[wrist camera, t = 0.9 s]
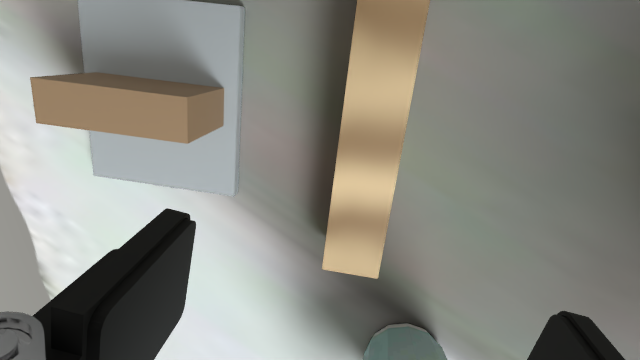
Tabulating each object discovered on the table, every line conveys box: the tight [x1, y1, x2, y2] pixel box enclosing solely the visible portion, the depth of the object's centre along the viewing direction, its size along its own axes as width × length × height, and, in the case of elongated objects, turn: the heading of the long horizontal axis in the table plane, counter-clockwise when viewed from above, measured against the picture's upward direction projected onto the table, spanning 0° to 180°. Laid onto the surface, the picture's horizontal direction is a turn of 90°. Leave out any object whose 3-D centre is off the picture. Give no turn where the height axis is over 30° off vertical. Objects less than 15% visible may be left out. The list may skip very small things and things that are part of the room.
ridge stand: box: [30, 0, 245, 197], centre depth 27 cm, size 12×14×7 cm
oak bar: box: [322, 0, 430, 279], centre depth 27 cm, size 20×4×5 cm, turn 172°
